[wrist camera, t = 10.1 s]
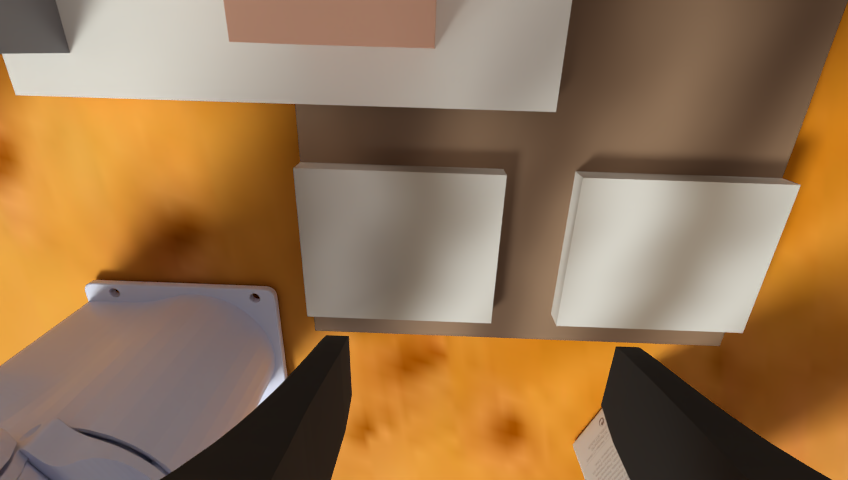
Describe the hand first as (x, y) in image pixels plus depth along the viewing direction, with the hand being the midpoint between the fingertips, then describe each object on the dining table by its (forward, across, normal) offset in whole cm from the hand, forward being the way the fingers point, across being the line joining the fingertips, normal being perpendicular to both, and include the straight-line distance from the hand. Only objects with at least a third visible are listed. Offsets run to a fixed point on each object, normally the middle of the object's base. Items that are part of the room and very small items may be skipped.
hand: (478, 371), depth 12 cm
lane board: (+9, -3, -6) cm, 11 cm away
